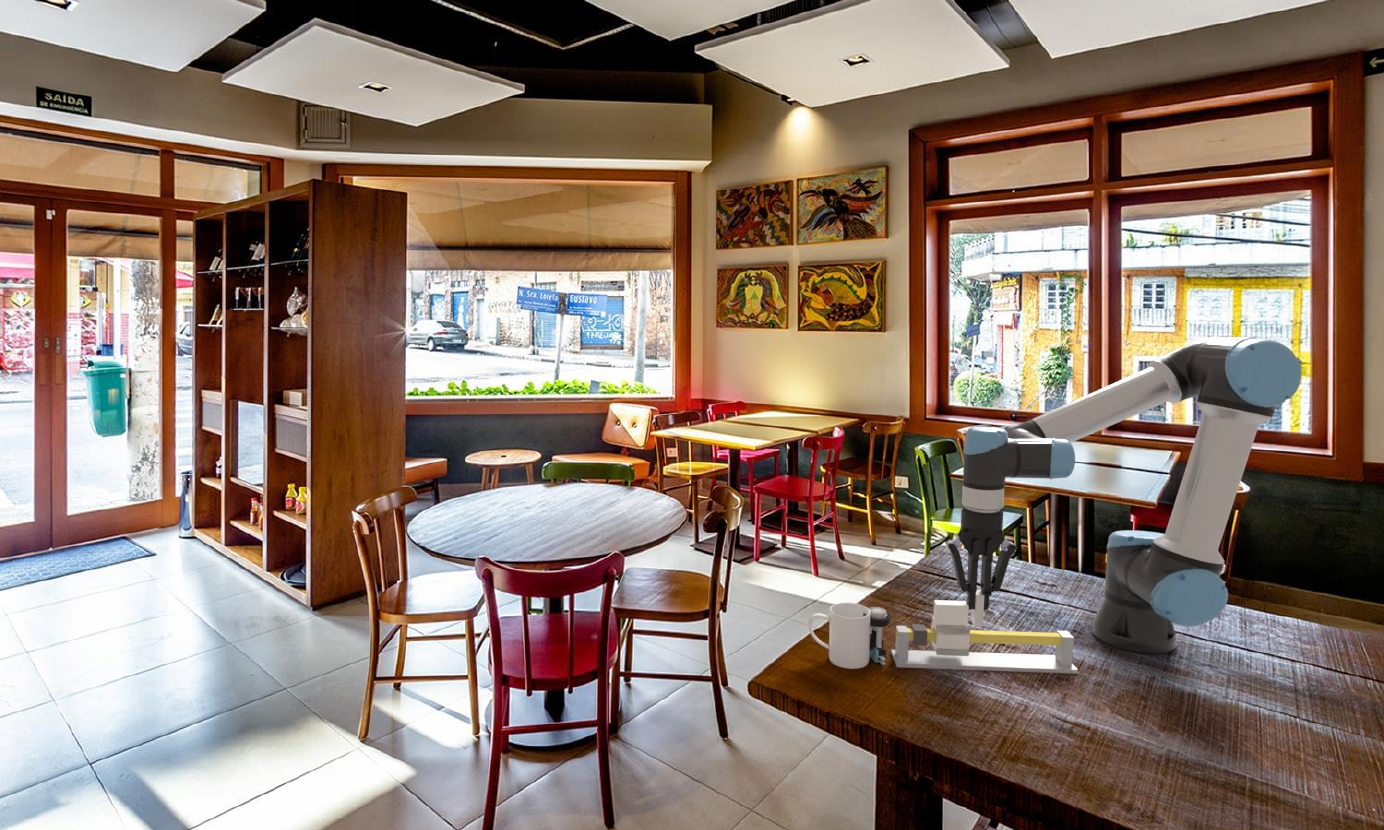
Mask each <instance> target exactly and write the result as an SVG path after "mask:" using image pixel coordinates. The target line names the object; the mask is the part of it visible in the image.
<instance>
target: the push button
mask: <svg viewBox="0 0 1384 830" xmlns="http://www.w3.org/2000/svg"><path fill="white" fill-rule="evenodd" d="M868 609H869V610H870V650H869V659H871V660H872V661H873V662H874V663H876V664H878V663H879V664H881V665H883V666H884V665H886V662H885V661H886V657H887V650H886V648H885V645H884V644H885V641H884V639H883V630H884V629H883V628H886V627H887V626H889V624H890V620H891V618H892V616H891V614H890V613H888V612H887V610H886V609H885V608H883V607H879V606H871V607H868ZM863 616H866V614H864V613H863Z"/></svg>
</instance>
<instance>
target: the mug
mask: <svg viewBox="0 0 1384 830" xmlns="http://www.w3.org/2000/svg"><path fill="white" fill-rule="evenodd" d="M863 613H864V614H866V616H863ZM817 618H822V619H824V620H826V621H827V622H829V632H828V633H829V634H828V635H829V639H828V644H827V643H826V642H823V641H822V640H820V639H819V638H818V636H817V635H816V634H815V632H814V631H813V624H812V623H813V622H814V620H815V619H817ZM807 624H808V631H809V633H810V635H811V637H812V638H813V640H814V641H815V642H816V643H817V644H818V645H820V646H822V647H823V648H825V649H826V650H828V658H829V661H830V663H831V664H833V665H835V666H837V667H839V668H843V669H849V670H854V669H855V670H856V669H861V668H864V667H866V666H867V665H869V663H870V658H869V650H870V631H871V626H870V610H869V607H867V606H865V605H863V604H859V603H854V602H839V603H835V604H833V605H831V606H830V607H829V616H828V615H826V614H824V613H821V612H820V613H819V612H818V613H813V614H812V615H810V617H809V619H808V623H807Z"/></svg>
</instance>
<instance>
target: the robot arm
mask: <svg viewBox="0 0 1384 830" xmlns="http://www.w3.org/2000/svg"><path fill="white" fill-rule="evenodd" d="M1301 381H1302V367H1301V363H1300V361H1299V359H1298V358H1297V356H1296V355H1295V353H1294V351H1292V350H1291V349H1290V348H1289V347H1288V346H1286V345H1285V344H1283V343H1280V342H1278V341H1275V340H1271V339H1267V338H1263V337H1254V336H1253V337H1240V336H1239V337H1238V336H1237V337H1235V336H1218V335H1217V336H1211V337H1206V338H1203V339H1200V340H1197V341H1193V342H1192V343H1189V344H1186V345H1184V346H1182V347H1179V348H1177V349H1175V350H1173V351H1171V352H1168V353H1166V354H1164V355H1162V356H1160V357H1157V358H1155V359H1152V360H1151V361H1150V362H1149V363H1148V366H1147V368H1145V369H1143V370H1141V371H1140V370H1139V371H1138V372H1135V373H1134V374H1131V375H1129V376H1127V377H1125V378H1123V379H1119V380H1118V381H1115V382H1114V383H1111V384H1108V385H1106V386H1104V387H1101V388H1099V389H1097V390H1096V391H1093V392H1091V393H1089V394H1086V395H1083V396H1082V397H1080V398H1077V399H1075V400H1072V401H1070V402H1067V403H1066V404H1064V405H1061V406H1059V407H1057V408H1055V409H1052V410H1050V411H1048V412H1045V413H1042V414H1041V415H1039V416H1036V417H1034V418H1032V419H1029V420H1027V421H1024V422H1021V423H1020V424H1017V425H1012V424H1011V425H1003V426H1000V427H996V426H972V427H970V428H968V429H967V431H966V432H965V436H964V445H963V451H962V452H963V466H962V467H963V468H962V469H963V472H962V474H963V477H962V478H963V480H962V492H961V493H962V494H961V496H962V497H961V504H962V506H963V507H961V509H960V510H961V512H960V515H961V517H960V529H959V530H958V532H957V536H956V537H955V538H954V539H947V540H946V541H945V545H946V547H947V548H948V549H949V551H950V555H951V559H952V563H953V569H954V572H955V577H956V582H957V586H958V587H959V588H960V590H961V591H963V592H966V595H967V596H966V599H967V600H966V603H967V604H968V606H969V608H968V610H971V620H970V621H971V624H972V625H973V627H975V628H984V614H985V613H984V612H985V610H987V611H988V610H989V608H990V596H992V594H993V593H994V592H995V593H998V592H1000V591H1001V588H1002V585H1003V581H1004V578H1005V575H1006V572H1007V569H1008V566H1009V564H1010V563H1009V562H1010V560H1011V557H1012V555H1013V554H1014V552H1015V551H1016V550H1017V545H1015V544H1014V543H1013V542H1012V541H1010V540H1007V539H1006V538H1005V535H1004V532H1003V527H1004V526H1003V525H1004V524H1003V523H1004V511H1003V509H1004V507H1005V486H1006V482H1005V481H1006V478H1009V479H1049V480H1053V479H1066V478H1069V477H1070V476H1071V475H1072V474H1073V472H1074V469H1075V466H1076V453H1075V449H1074V447H1073V445H1072V443H1073V442H1075V441H1078V440H1080V439H1083V438H1086V437H1087V436H1090V435H1092V434H1095V433H1097V432H1099V431H1102V430H1103V429H1107V428H1108V427H1110V426H1113V425H1115V424H1118V423H1120V422H1123V421H1124V420H1127V419H1129V418H1131V417H1134V416H1137V415H1139V414H1141V413H1143V412H1146V411H1148V410H1151V409H1153V408H1155V407H1157V406H1159V405H1162V404H1164V403H1170V404H1178V403H1180V402H1182V401H1184V400H1188V399H1191V398H1197V399H1196V406H1197V407H1198V408H1199V410H1200V411H1201V412H1202V417H1201V420H1200V423H1199V426H1198V429H1197V430H1196V431H1197V433H1196V435H1195V438H1194V441H1193V445H1192V448H1191V451H1190V454H1189V457H1188V461H1187V464H1186V466H1185V470H1184V473H1183V477H1182V480H1181V482H1180V485H1179V488H1178V491H1177V492H1178V493H1177V495H1176V498H1175V501H1174V504H1173V508H1172V510H1171V515H1170V517H1169V521H1168V524H1167V527H1166V530H1165V532H1164V533H1160V532H1155V531H1146V530H1131V529H1130V530H1128V529H1127V530H1117V531H1114V532H1112V533H1110V535H1109V536H1108V542H1107V545H1106V564H1105V565H1106V566H1105V578H1104V579H1105V582H1104V595H1103V600H1102V602H1101V604H1100V605H1099V608H1098V610H1097V612H1096V614H1095V617H1094V618H1093V621H1092V633H1093V635H1094V636H1095V637H1096V638H1097V639H1099V640H1100V641H1102V642H1104V643H1105V644H1108V645H1109V646H1113V647H1115V648H1118V649H1121V650H1124V651H1125V650H1126V651H1129V652H1134V653H1139V654H1151V655H1152V654H1153V655H1156V654H1158V655H1159V654H1166V653H1170V652H1172V651H1174V650H1175V649H1176V646H1177V644H1176V643H1177V634H1176V630H1175V628H1174V624H1176V625H1180V626H1185V627H1197V626H1201V625H1204V624H1205V623H1208V622H1211V621H1213V620H1214V619H1216V618H1217V617H1219V615H1221V613H1222V612H1223V611H1224V609H1225V607H1226V606H1227V603H1228V600H1229V593H1228V588H1227V586H1226V584H1225V582H1224V580H1223V579H1222V578H1221V574H1222V571H1223V568H1224V564H1225V560H1224V558H1223V556H1222V555H1221V553H1220V551H1219V548H1220V544H1221V542H1222V539H1223V536H1224V533H1225V531H1226V530H1225V529H1226V526H1227V523H1228V520H1229V517H1230V514H1231V511H1232V508H1233V505H1234V503H1235V500H1236V496H1237V492H1238V489H1239V487H1240V484H1241V481H1242V478H1243V474H1244V472H1245V468H1246V465H1247V463H1248V459H1249V456H1250V453H1251V451H1252V447H1253V444H1254V441H1255V438H1256V434H1257V433H1258V428H1259V427H1260V426H1261V425H1263V424H1264V423H1267V422H1269V421H1271V420H1272V419H1273V416H1274V415H1275V412H1276V411H1275V410H1276V407H1277V406H1279V405H1281V404H1284V403H1285V402H1286V401H1287V400H1290V399H1291V398H1293V396H1294V395H1295V394H1296V393H1297V391H1298V389H1299V387H1300V384H1301ZM961 544H962V545H963V547H964V548H965V549H966V552H967V557H968V558H967V574H966V575H967V577H966V576H965V572H964V571H965V570H964V566H963V562H962V556H961V553H960V550H961ZM999 548H1000V549H1001V550H1000V552H999V554H998V557H997V561H996V564H995V567H994V571H993V574H992V570H993V569H992V568H993V566H992V565H993V559H994V553H995V552H996V551H997V550H998V549H999ZM980 556H981V568H980V570H981V571H980V590H979V589H978V571H979V561H980ZM966 578H967V580H966Z"/></svg>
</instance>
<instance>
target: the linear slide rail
mask: <svg viewBox="0 0 1384 830" xmlns="http://www.w3.org/2000/svg"><path fill="white" fill-rule="evenodd" d="M896 628H897V630H898V639H897V637H896V636H895V643H894V644H895V648H894V649H891V650H890V651H891V656H892V659H893V662H894V663H895V667H896V668H904V669H905V668H908V669H910V668H911V669H935V670H936V669H937V670H939V669H940V670H964V671H965V670H966V671H971V670H972V671H987V672H988V671H990V672H993V671H995V672H996V671H997V672H1019V673H1023V672H1024V673H1049V674H1075V675H1078V674H1079V669H1078V667H1076V666H1075V664H1073V656H1074V640H1075V637H1074V636H1073V635H1072V634H1071V633H1070V632H1069V631H1068V630H1056V633H1059V634H1060V636H1061V637H1062V641H1061V646H1056V645H1055V654H1031V653H1030V654H1029V653H1028V654H1027V653H1008V652H1007V653H1003V652H1002V653H999V652H998V653H997V652H974V651H973V652H972V651H969V656H949V655H937V654H936V652H935V650H919V649H918V650H917V649H916V650H915V649H914V650H913V649H909V646H910V641H909V631H908V629H907V628H908V627H907V625H895V629H896Z"/></svg>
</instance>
